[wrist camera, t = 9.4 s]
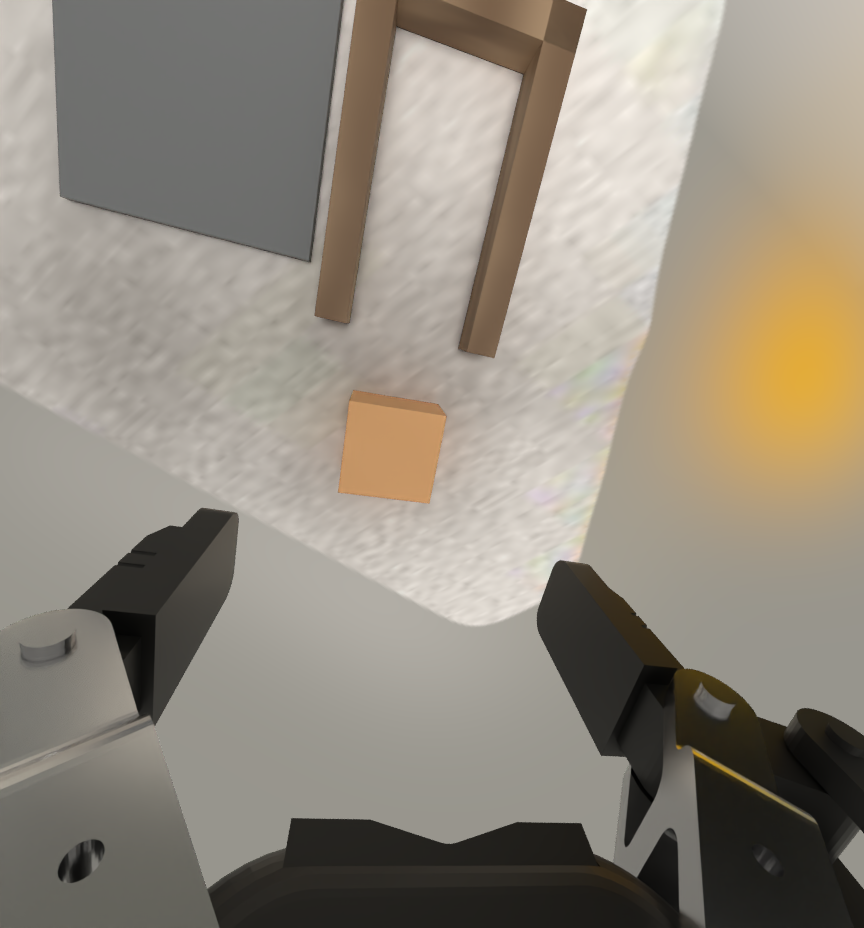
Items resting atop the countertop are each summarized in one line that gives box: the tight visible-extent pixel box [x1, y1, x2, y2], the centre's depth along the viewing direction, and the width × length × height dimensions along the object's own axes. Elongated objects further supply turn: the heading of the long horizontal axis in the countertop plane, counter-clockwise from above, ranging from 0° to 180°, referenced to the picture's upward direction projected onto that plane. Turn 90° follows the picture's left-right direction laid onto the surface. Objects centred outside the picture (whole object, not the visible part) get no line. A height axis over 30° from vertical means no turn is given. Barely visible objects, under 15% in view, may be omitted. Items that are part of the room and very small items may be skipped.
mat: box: [52, 0, 344, 262], centre depth 18 cm, size 11×11×1 cm
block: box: [338, 390, 447, 503], centre depth 23 cm, size 5×5×4 cm
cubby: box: [315, 0, 587, 358], centre depth 20 cm, size 9×14×2 cm, turn 167°
